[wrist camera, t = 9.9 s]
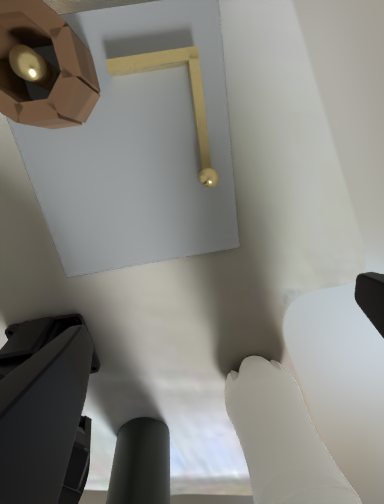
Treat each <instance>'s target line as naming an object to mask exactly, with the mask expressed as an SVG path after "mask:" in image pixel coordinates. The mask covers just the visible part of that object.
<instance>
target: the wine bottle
mask: <svg viewBox="0 0 384 504" xmlns="http://www.w3.org/2000/svg"><path fill="white" fill-rule="evenodd" d="M106 504H170V436H169V430H168V428H167V426H166V425H165V424H164V423H163V422H161V421H159V420H157V419H153V418H138V419H134V420H131V421H129V422H127V423H126V424H124V425H123V426H122V427H121V428H120V430H119V432H118V436H117V442H116V448H115V454H114V460H113V465H112V471H111V477H110V483H109V489H108V495H107V501H106Z"/></svg>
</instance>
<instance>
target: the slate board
mask: <svg viewBox="0 0 384 504" xmlns="http://www.w3.org/2000/svg"><path fill="white" fill-rule="evenodd" d="M59 16H60V17H62V18H63V19H64V20H65V21H66V22H67V23H68V25H69V26H70V27H71V28H72V30H73V31H74V32H75V34H76V35H77V36H78V37H79V39H80V40H81V41H82V42H83V44H84V45H85V46H86V48H87V49H88V50H89V51H90V54H91V55H92V57H93V61H94V66H95V70H96V74H97V78H98V82H99V87H100V91H101V92H98V93H97V94H98V95H99V96H100V98H99V100H98V101H97V103H96V105H95V107H94V108H93V110H92V112H91V114H90V116H89V117H88V119H87V121H86V123H84V122H82V125H79V126H73V127H66V128H59V129H48V128H42V127H36V126H30V125H24V124H21V123H16V122H14V121H13V120H11V119H10V118H8V117H7V116H6V117H7V120H8V123H9V125H10V128H11V131H12V133H13V136H14V138H15V141H16V144H17V146H18V149H19V152H20V154H21V157H22V160H23V162H24V165H25V168H26V170H27V173H28V176H29V178H30V181H31V184H32V186H33V189H34V192H35V194H36V197H37V200H38V202H39V205H40V208H41V210H42V213H43V216H44V218H45V221H46V224H47V226H48V229H49V232H50V234H51V237H52V239H53V242H54V245H55V247H56V250H57V253H58V255H59V258H60V261H61V263H62V266H63V269H64V271H65V274H66V277H73V276H79V275H85V274H90V273H96V272H102V271H108V270H113V269H119V268H125V267H131V266H136V265H142V264H148V263H153V262H159V261H165V260H171V259H176V258H182V257H188V256H194V255H199V254H205V253H211V252H217V251H222V250H228V249H234V248H240V247H239V235H238V223H237V211H236V200H235V188H234V176H233V164H232V152H231V141H230V129H229V117H228V105H227V93H226V82H225V70H224V58H223V46H222V34H221V23H220V11H219V0H159V1H152V2H145V3H138V4H131V5H124V6H117V7H111V8H104V9H97V10H90V11H83V12H76V13H69V14H62V15H59ZM192 46H198V52H199V61H200V70H201V78H202V87H203V96H204V105H205V113H206V122H207V131H208V140H209V148H210V157H211V166H212V169H214V170H216V171H217V172H218V174H219V182H218V184H217V185H216V186H215V187H213V188H207V187H205V186H204V185H203V184H202V183H201V182H200V181H199V180H198V172H199V170H200V169H201V167H200V159H199V151H198V143H197V136H196V128H195V120H194V113H193V105H192V97H191V90H190V82H189V74H188V66H183V67H177V68H170V69H164V70H157V71H150V72H144V73H137V74H131V75H124V76H117V77H112V76H111V75H110V74H109V72H108V68H107V64H106V60H105V59H112V58H118V57H125V56H132V55H138V54H145V53H152V52H158V51H165V50H172V49H178V48H185V47H192ZM32 50H34V51H35V52H36V53H38V54H39V55H41V56H42V57H43V58H45V59H46V60H47V61H49V62H50V63H51V64H53V65H54V66H55V67H57V68H58V69H59V70H60V66H59V63H58V59H57V56H56V52H55V48H54V45H50V46H43V47H36V48H32ZM60 71H61V70H60ZM24 80H25V79H24ZM25 83H26V86H27V89H28V93H29V96H30V98H31V99H33V100H34V101H35V100H42V99H48V97H49V95H50V93H51V92H50V91H48V90H45V89H43V88H41V87H39V86H37V85H35V84H33V83H31V82H29V81H27V80H25Z"/></svg>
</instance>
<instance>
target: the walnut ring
mask: <svg viewBox="0 0 384 504" xmlns="http://www.w3.org/2000/svg"><path fill="white" fill-rule="evenodd" d="M16 45H26V46H28V47H30V48H31V49H32V48H36V47H43V46H50V45H54V48H55V52H56V56H57V59H58V63H59V66H60V70H61V73H60V75H59V77H58V79H57V81H56V83H55V85H54V87H53V89H52V91H51V93H50V95H49V97H48V99H42V100H35V101H34V100H33V99H31V98H30V96H29V93H28V89H27V86H26V83H25V80H24V79H23V78H21V77H19V76H18V75H17V74H16V73H15V72H14V71H13V69H12V68H11V65H10V62H9V54H10V51H11V49H12V48H13V47H15V46H16ZM98 92H101V91H100V87H99V82H98V78H97V74H96V70H95V66H94V61H93V57H92V55H91V54H90V51H89V50H88V49H87V48H86V46H85V45H84V44H83V42H82V41H81V40H80V39H79V37H78V36H77V35H76V34H75V32H74V31H73V30H72V28H71V27H70V26H69V25H68V23H67V22H66V21H65V20H64V19H63V18H62V17H60V16H59V15H58V14H57V13H56V12H55V11H53V10H52V9H51V8H50V7H49V6H47V5H46V4H45V3H44V2H43V1H41V0H0V112H1V113H2V114H4V115H5V116H7V117H8V118H10V119H11V120H13V121H14V122H16V123H21V124H24V125H30V126H36V127H42V128H48V129H59V128H66V127H73V126H79V125H82V122H84V123H86V121H87V119H88V117H89V116H90V114H91V112H92V110H93V108H94V107H95V105H96V103H97V101H98V100H99V98H100V96H99V95H98V94H97V93H98Z"/></svg>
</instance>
